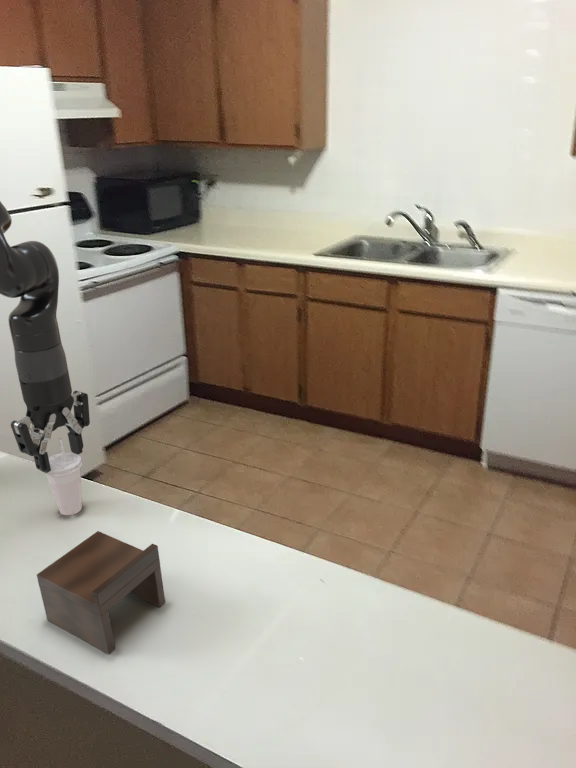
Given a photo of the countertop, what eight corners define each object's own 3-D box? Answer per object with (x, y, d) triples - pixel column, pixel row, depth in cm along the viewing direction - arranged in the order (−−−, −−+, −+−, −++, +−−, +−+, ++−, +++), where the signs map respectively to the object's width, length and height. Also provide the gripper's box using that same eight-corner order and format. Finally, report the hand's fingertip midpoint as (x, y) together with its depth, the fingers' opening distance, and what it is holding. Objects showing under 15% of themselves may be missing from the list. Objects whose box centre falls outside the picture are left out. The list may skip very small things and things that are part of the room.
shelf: (47, 620, 93) (33, 562, 88) (105, 573, 101) (95, 519, 97) (108, 654, 87) (97, 594, 83) (165, 602, 95) (157, 545, 91)
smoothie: (79, 521, 113) (66, 449, 108) (44, 518, 114) (29, 447, 109) (95, 500, 119) (83, 430, 113) (62, 497, 120) (49, 428, 114)
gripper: (62, 351, 113) (78, 438, 120) (-12, 382, 102) (11, 476, 109) (93, 359, 109) (108, 448, 116) (20, 392, 98) (41, 488, 105)
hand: (61, 461), depth 113 cm, fingers closed on smoothie, 6 cm apart
